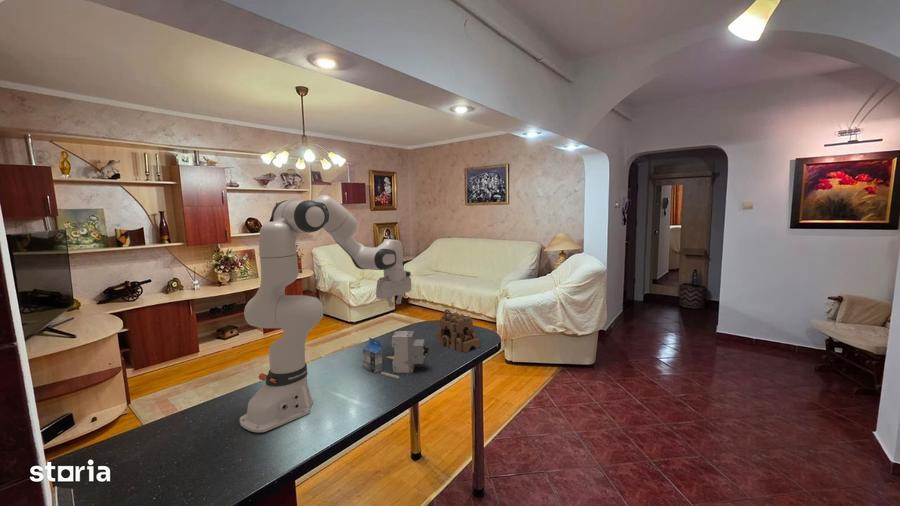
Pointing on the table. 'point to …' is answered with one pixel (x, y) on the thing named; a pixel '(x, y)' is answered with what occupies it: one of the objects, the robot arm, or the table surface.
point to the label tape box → (373, 356)
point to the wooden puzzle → (457, 332)
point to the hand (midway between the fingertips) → (394, 305)
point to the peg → (390, 375)
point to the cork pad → (391, 357)
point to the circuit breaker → (407, 351)
